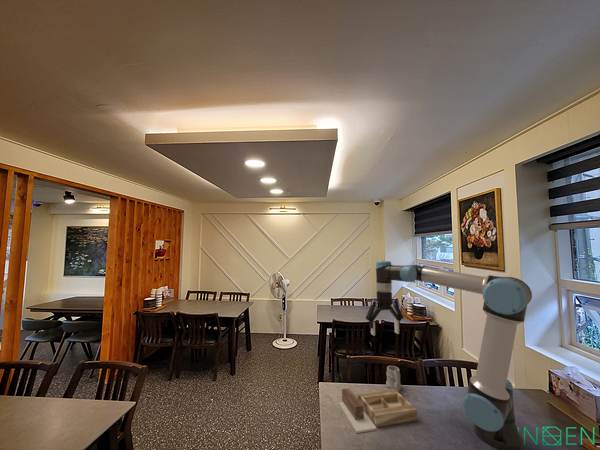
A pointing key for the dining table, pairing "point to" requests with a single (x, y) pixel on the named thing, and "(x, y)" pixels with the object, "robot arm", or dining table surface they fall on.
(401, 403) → the pocket board
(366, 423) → the felt mat
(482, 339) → the robot arm
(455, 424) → the dining table surface
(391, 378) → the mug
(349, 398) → the walnut bar
